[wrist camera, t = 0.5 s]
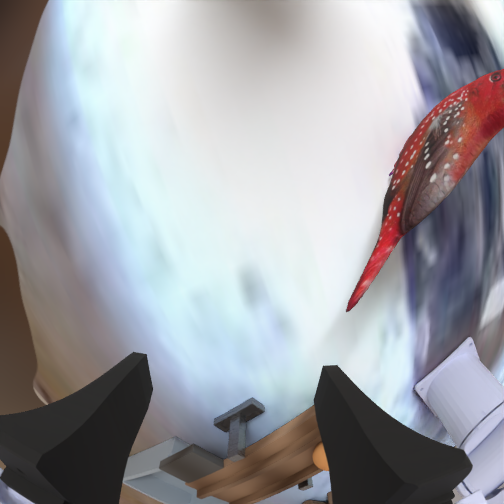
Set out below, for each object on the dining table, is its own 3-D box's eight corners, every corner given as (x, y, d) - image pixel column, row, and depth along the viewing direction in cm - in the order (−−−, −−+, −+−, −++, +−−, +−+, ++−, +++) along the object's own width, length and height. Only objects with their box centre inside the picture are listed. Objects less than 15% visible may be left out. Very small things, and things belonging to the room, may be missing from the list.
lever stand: (252, 397, 23) (252, 444, 18) (322, 442, 25) (330, 480, 20) (214, 419, 24) (208, 462, 19) (287, 459, 26) (290, 496, 21)
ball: (344, 438, 20) (361, 457, 17) (319, 460, 19) (334, 480, 16) (326, 427, 19) (343, 447, 16) (300, 450, 19) (314, 472, 16)
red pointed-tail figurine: (450, 102, 16) (540, 83, 6) (335, 282, 20) (392, 367, 10) (425, 76, 15) (512, 42, 6) (304, 261, 19) (348, 342, 10)
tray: (251, 475, 27) (251, 500, 23) (192, 493, 30) (189, 513, 26) (175, 436, 25) (168, 463, 21) (125, 458, 27) (117, 479, 23)
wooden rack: (290, 379, 18) (299, 406, 16) (364, 434, 21) (376, 455, 18) (157, 462, 20) (152, 485, 17) (242, 500, 22) (243, 520, 19)
